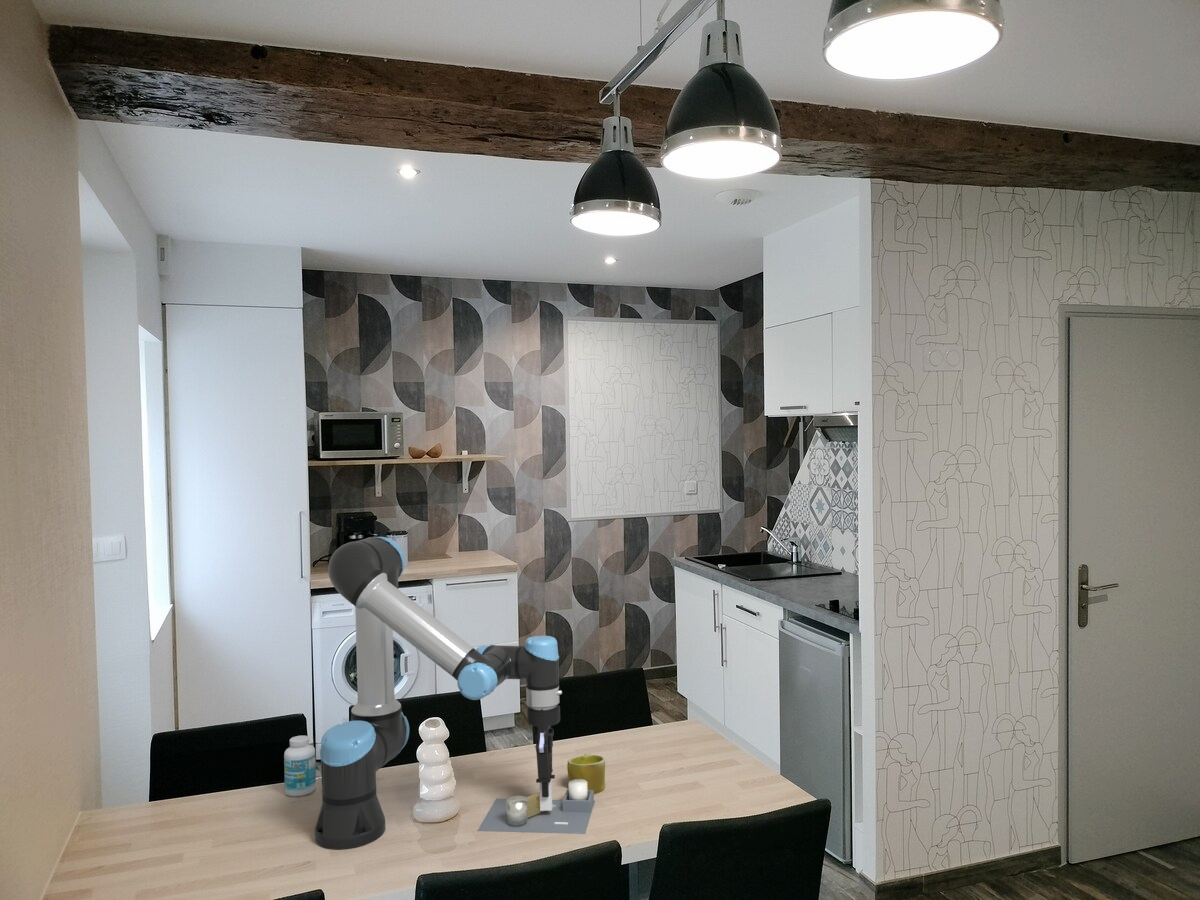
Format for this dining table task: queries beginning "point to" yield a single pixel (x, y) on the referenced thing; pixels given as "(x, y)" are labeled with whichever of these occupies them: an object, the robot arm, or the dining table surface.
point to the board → (544, 817)
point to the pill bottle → (299, 767)
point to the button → (578, 789)
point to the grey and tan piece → (522, 808)
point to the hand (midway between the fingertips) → (546, 809)
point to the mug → (588, 771)
